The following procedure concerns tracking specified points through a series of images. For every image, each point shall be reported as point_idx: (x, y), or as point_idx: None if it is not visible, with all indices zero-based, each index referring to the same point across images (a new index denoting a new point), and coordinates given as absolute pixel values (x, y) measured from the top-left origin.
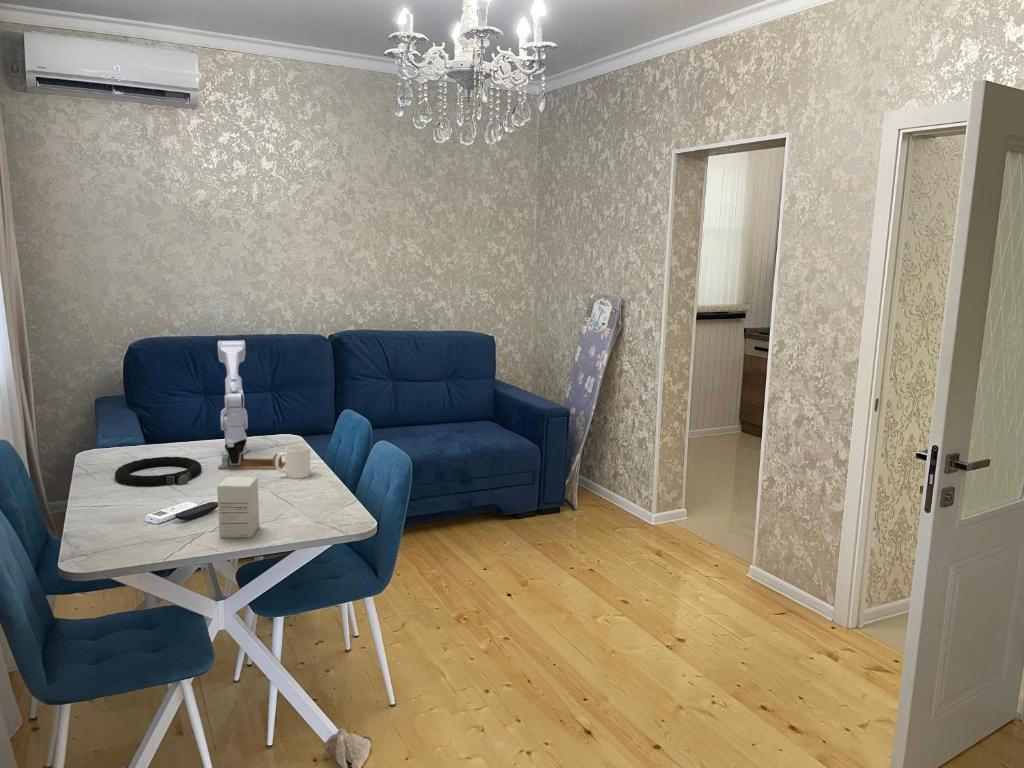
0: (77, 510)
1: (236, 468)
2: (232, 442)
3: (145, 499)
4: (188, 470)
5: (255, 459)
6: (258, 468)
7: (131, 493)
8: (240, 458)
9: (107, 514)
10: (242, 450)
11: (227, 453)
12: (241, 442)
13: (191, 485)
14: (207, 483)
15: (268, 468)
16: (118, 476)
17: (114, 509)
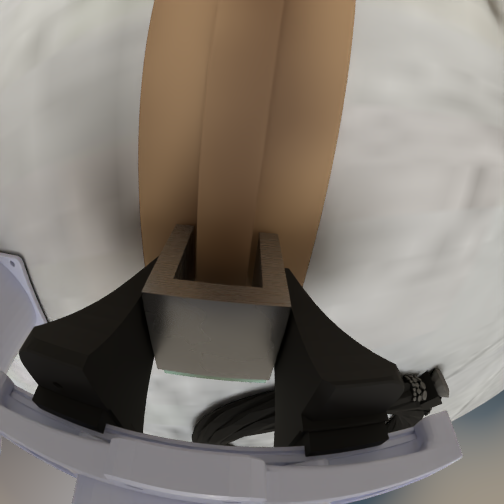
0: (459, 416)
1: (309, 252)
2: (459, 453)
3: (480, 380)
4: (402, 406)
5: (236, 118)
6: (345, 87)
7: (432, 412)
8: (284, 270)
9: (498, 384)
10: (157, 301)
11: (35, 322)
12: (109, 385)
13: (459, 350)
14: (471, 318)
15: (351, 16)
16: None
17: (488, 389)
